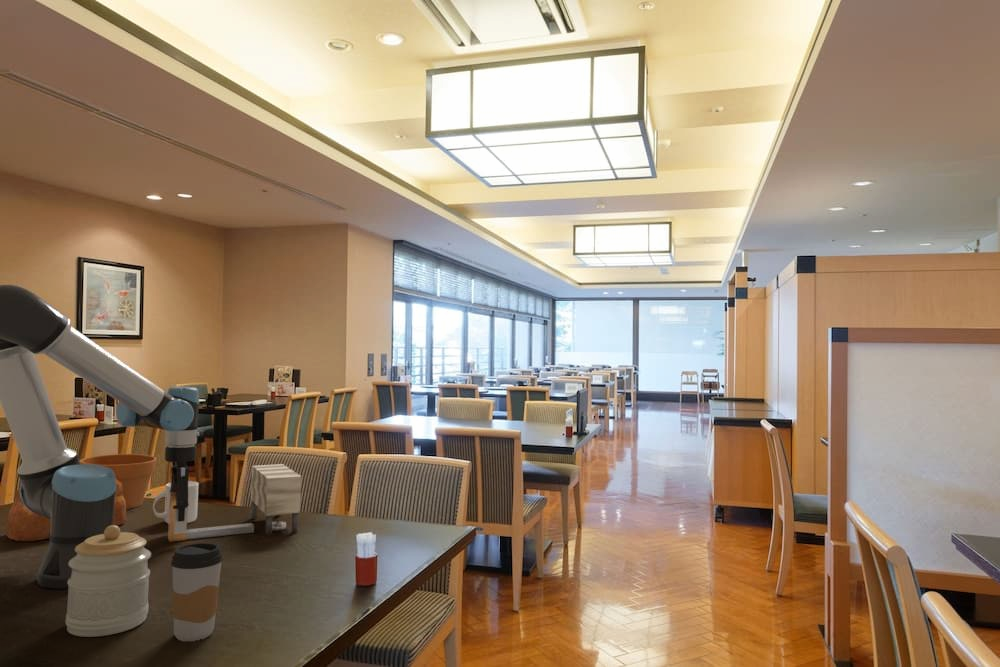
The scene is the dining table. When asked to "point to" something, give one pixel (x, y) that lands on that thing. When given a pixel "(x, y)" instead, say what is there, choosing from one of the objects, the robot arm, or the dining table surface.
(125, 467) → the flower pot
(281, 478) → the cabinet
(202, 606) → the coffee cup
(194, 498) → the mug
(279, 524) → the token
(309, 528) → the dining table surface
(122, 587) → the jar
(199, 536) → the grey l-shaped rod
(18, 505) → the bread
